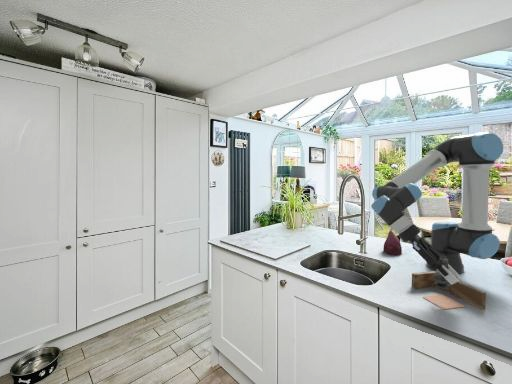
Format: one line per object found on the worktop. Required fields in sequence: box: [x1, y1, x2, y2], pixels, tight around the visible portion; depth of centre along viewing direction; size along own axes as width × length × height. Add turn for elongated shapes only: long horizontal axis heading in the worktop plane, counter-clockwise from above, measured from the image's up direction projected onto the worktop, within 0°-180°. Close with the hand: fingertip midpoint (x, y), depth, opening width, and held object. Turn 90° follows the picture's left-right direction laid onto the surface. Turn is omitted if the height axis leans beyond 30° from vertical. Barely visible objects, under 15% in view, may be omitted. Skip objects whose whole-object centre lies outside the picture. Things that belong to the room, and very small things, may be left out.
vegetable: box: [382, 229, 403, 256], centre depth 151 cm, size 10×10×15 cm
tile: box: [422, 293, 466, 311], centre depth 94 cm, size 9×9×1 cm
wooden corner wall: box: [411, 270, 487, 310], centre depth 97 cm, size 12×20×6 cm, turn 9°
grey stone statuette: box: [433, 255, 451, 290], centre depth 93 cm, size 6×6×12 cm
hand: (455, 279), depth 91 cm, fingers closed on grey stone statuette, 5 cm apart
